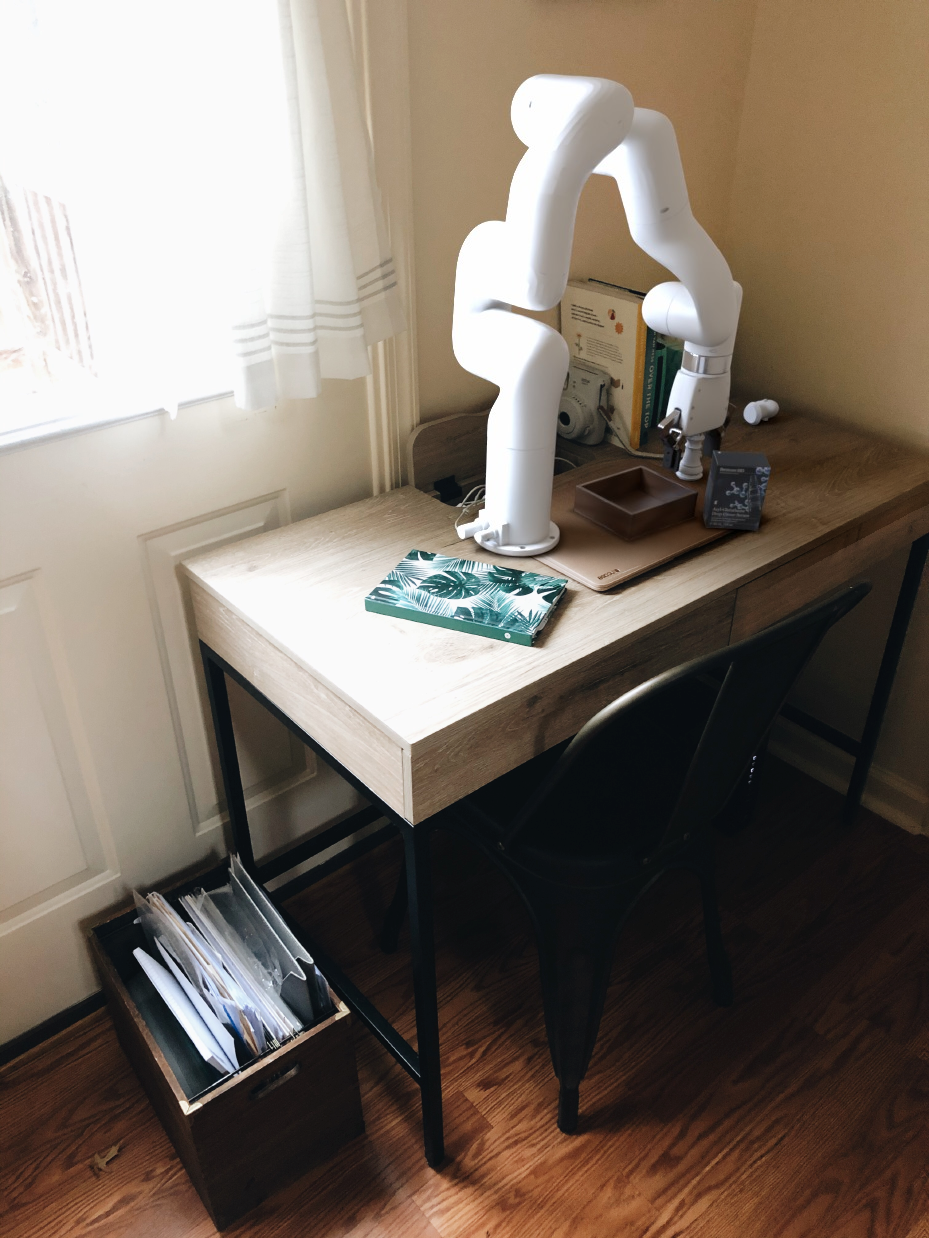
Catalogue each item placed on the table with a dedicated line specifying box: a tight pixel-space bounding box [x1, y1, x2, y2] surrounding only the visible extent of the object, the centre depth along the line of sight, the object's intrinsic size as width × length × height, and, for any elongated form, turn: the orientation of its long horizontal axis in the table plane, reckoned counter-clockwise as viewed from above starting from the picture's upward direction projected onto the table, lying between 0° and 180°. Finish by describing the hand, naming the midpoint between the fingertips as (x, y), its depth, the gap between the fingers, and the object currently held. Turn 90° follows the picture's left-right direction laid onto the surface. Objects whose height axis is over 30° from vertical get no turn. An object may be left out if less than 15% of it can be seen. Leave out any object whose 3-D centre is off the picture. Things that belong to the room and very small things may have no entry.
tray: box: [573, 464, 699, 542], centre depth 147 cm, size 14×12×4 cm
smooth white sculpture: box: [743, 398, 780, 426], centre depth 183 cm, size 4×8×5 cm
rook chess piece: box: [675, 432, 705, 482], centre depth 159 cm, size 4×4×8 cm
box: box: [702, 450, 772, 532], centre depth 144 cm, size 8×6×11 cm
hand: (690, 463), depth 160 cm, fingers open, 9 cm apart
